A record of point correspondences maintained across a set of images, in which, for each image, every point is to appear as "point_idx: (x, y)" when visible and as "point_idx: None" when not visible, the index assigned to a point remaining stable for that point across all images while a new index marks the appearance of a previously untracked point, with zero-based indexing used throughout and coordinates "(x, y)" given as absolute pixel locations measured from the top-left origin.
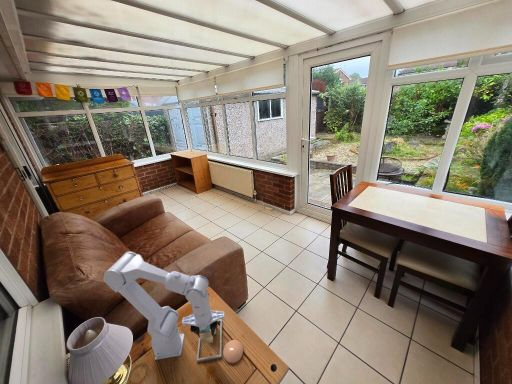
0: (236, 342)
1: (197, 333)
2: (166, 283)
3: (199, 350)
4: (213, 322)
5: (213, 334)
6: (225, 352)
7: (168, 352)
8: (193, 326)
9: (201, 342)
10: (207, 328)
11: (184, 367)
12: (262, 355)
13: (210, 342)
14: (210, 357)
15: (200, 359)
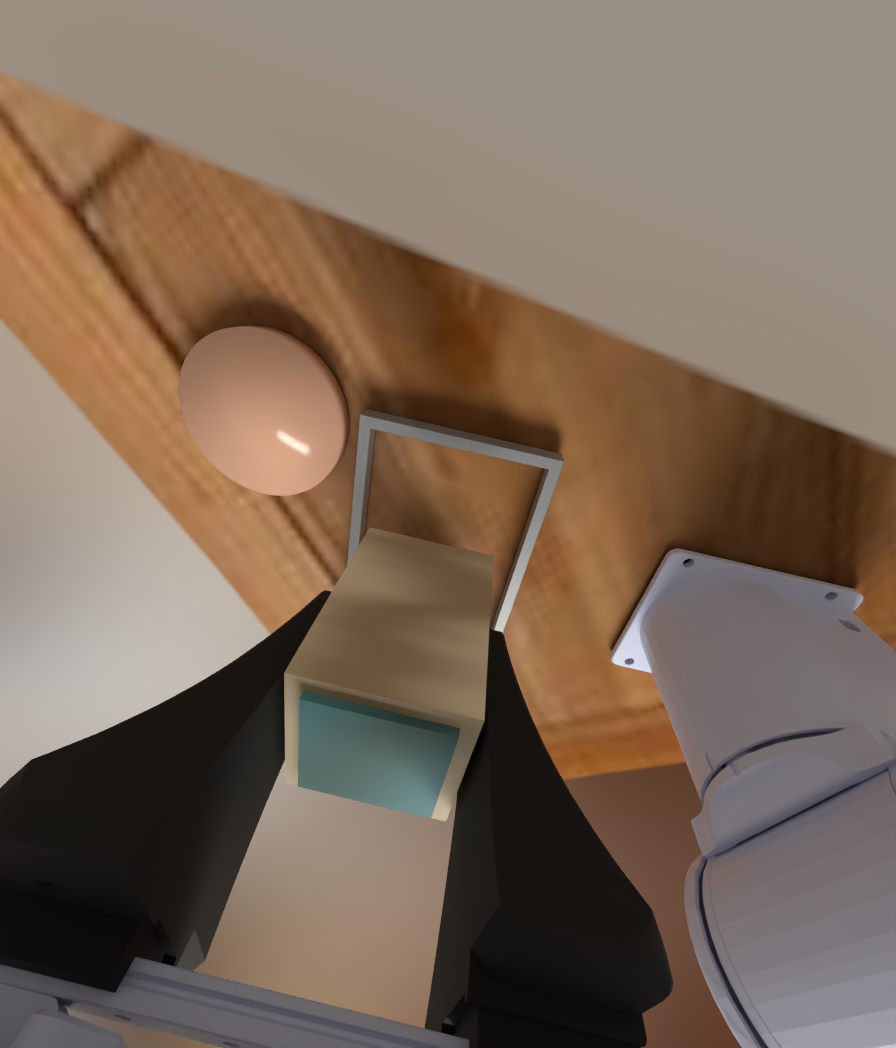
0: (233, 465)
1: (513, 739)
2: None
3: (526, 523)
4: (67, 905)
5: (308, 607)
6: (322, 427)
7: (775, 602)
8: (575, 1001)
9: (488, 575)
10: (337, 740)
11: (664, 455)
12: (34, 294)
13: (392, 536)
14: (448, 438)
15: (531, 455)
